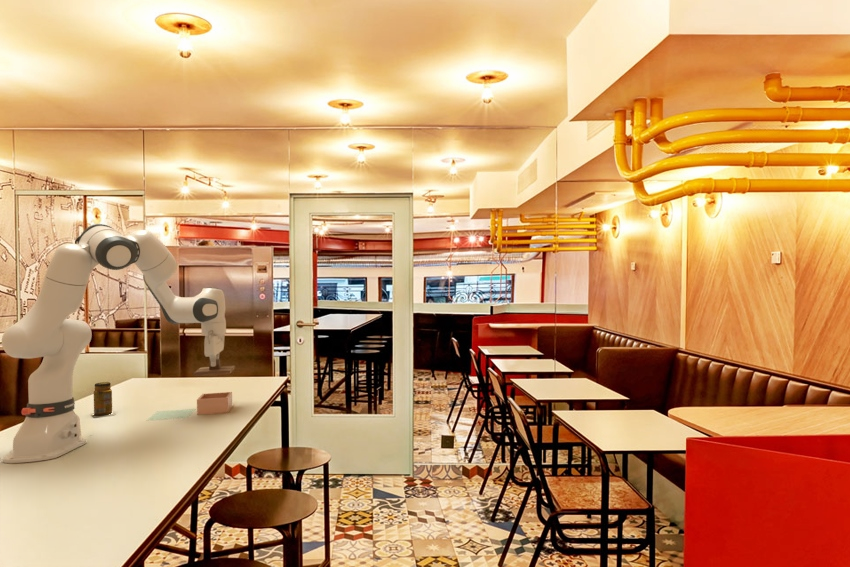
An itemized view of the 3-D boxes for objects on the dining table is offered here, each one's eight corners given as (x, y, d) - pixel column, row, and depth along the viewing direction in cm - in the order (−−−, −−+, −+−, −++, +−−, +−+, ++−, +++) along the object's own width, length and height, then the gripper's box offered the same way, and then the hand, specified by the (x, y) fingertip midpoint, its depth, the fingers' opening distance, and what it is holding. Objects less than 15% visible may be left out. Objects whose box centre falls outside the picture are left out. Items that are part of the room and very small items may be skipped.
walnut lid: (230, 373, 199) (229, 361, 199) (193, 376, 196) (192, 363, 196) (235, 368, 212) (234, 356, 212) (200, 370, 209) (200, 358, 209)
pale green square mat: (187, 418, 194) (187, 417, 194) (146, 421, 191) (146, 420, 191) (196, 409, 208) (195, 408, 208) (157, 412, 205) (157, 411, 205)
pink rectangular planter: (228, 413, 200) (227, 397, 200) (197, 415, 198) (196, 399, 198) (232, 406, 211) (232, 391, 211) (203, 409, 209) (202, 393, 209)
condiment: (112, 411, 209) (111, 380, 209) (116, 415, 202) (115, 383, 202) (90, 414, 204) (89, 383, 204) (93, 418, 198) (92, 386, 198)
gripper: (217, 331, 194) (218, 369, 194) (226, 327, 214) (227, 361, 214) (199, 332, 193) (200, 370, 193) (210, 327, 213) (211, 362, 213)
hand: (214, 365), depth 204 cm, fingers closed on walnut lid, 3 cm apart
